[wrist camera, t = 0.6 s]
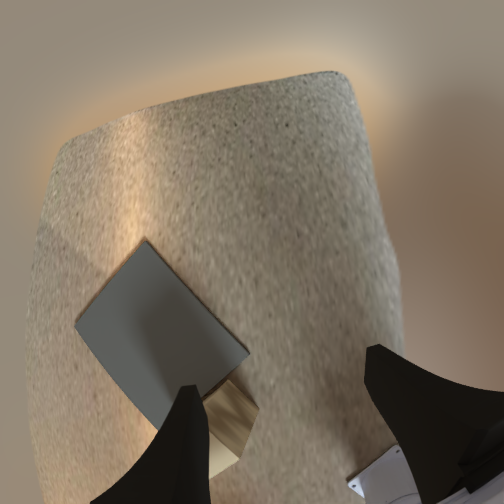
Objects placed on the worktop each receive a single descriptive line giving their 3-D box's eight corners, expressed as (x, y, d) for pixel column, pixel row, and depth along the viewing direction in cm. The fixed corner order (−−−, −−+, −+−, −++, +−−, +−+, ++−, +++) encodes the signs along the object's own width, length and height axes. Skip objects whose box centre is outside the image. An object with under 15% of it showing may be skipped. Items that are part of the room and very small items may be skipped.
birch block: (259, 409, 33) (239, 459, 21) (212, 445, 33) (179, 497, 21) (228, 379, 34) (195, 417, 22) (183, 417, 34) (139, 460, 22)
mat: (250, 353, 34) (249, 354, 33) (161, 430, 34) (159, 432, 34) (147, 241, 37) (145, 240, 37) (76, 326, 38) (74, 326, 37)
